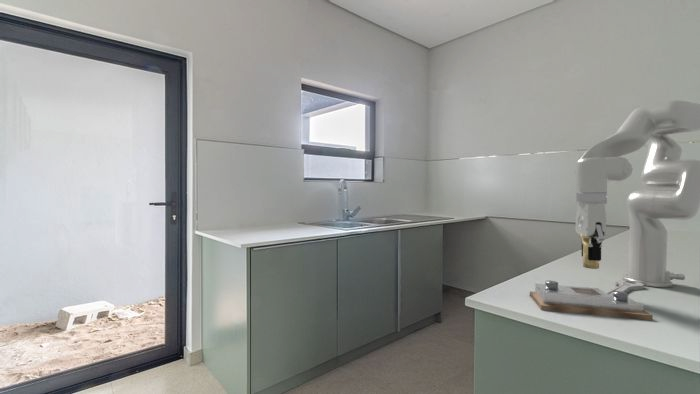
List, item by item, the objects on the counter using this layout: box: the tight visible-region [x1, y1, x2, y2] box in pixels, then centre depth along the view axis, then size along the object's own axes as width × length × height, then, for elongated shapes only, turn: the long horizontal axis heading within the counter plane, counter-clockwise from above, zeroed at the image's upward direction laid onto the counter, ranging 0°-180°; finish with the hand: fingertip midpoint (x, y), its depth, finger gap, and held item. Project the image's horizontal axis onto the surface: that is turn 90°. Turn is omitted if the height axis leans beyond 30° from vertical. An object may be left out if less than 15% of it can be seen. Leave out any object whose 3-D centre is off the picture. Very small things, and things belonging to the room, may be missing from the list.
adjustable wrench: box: [605, 279, 645, 295], centre depth 102 cm, size 25×6×2 cm, turn 122°
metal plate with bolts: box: [534, 279, 644, 312], centre depth 88 cm, size 22×8×5 cm, turn 74°
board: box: [529, 291, 654, 321], centre depth 88 cm, size 24×12×1 cm, turn 74°
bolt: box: [579, 234, 600, 270], centre depth 100 cm, size 6×6×10 cm
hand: (591, 257), depth 100 cm, fingers closed on bolt, 4 cm apart
